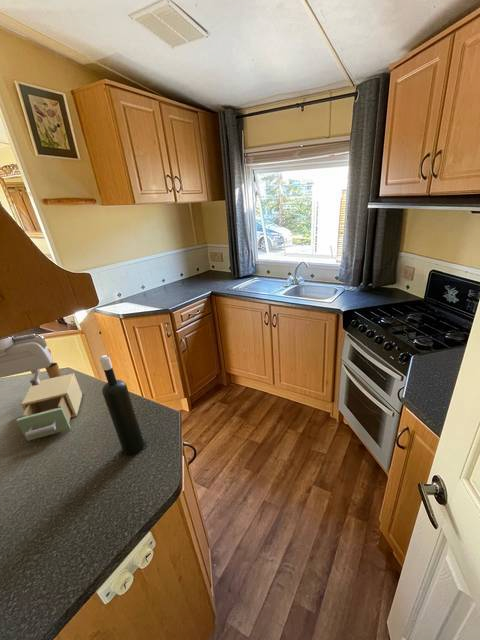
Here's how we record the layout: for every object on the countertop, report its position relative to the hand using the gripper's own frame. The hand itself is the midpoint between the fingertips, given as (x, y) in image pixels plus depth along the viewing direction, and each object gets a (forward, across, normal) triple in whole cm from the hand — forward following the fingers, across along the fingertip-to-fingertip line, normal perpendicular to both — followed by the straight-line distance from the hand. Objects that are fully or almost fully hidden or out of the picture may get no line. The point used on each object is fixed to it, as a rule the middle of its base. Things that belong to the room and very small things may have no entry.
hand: (15, 389), depth 76 cm
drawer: (+21, 0, -12) cm, 24 cm away
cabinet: (+22, 0, -23) cm, 31 cm away
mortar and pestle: (+22, +2, -39) cm, 44 cm away
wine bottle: (+22, -23, +11) cm, 34 cm away
